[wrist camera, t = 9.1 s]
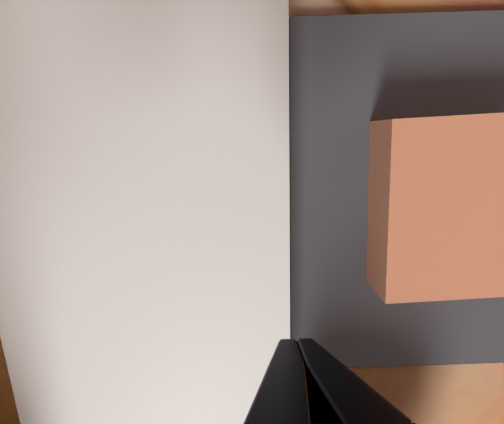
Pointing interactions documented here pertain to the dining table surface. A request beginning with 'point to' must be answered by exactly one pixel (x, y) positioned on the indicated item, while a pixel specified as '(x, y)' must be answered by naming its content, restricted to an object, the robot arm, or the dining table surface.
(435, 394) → the dining table surface
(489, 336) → the mat
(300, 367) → the robot arm
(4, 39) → the riser
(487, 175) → the tan wooden brick
